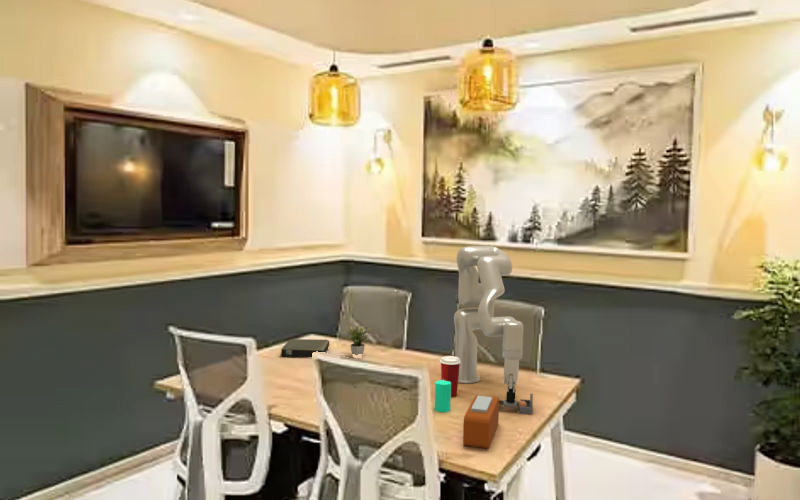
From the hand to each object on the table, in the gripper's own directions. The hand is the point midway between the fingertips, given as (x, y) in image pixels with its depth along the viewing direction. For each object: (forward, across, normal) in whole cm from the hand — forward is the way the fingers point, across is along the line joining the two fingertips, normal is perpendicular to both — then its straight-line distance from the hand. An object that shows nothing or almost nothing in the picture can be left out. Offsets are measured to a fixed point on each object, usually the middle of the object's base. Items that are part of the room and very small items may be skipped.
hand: (510, 400), depth 230 cm
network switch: (+4, -55, -105) cm, 119 cm away
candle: (+3, +8, -25) cm, 26 cm away
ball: (+1, 0, +4) cm, 5 cm away
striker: (+3, 0, 0) cm, 3 cm away
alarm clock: (+4, +28, -8) cm, 30 cm away
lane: (+3, 0, -5) cm, 6 cm away
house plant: (+3, -53, -77) cm, 93 cm away
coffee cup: (+3, -10, -25) cm, 27 cm away
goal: (+3, 0, +6) cm, 7 cm away
